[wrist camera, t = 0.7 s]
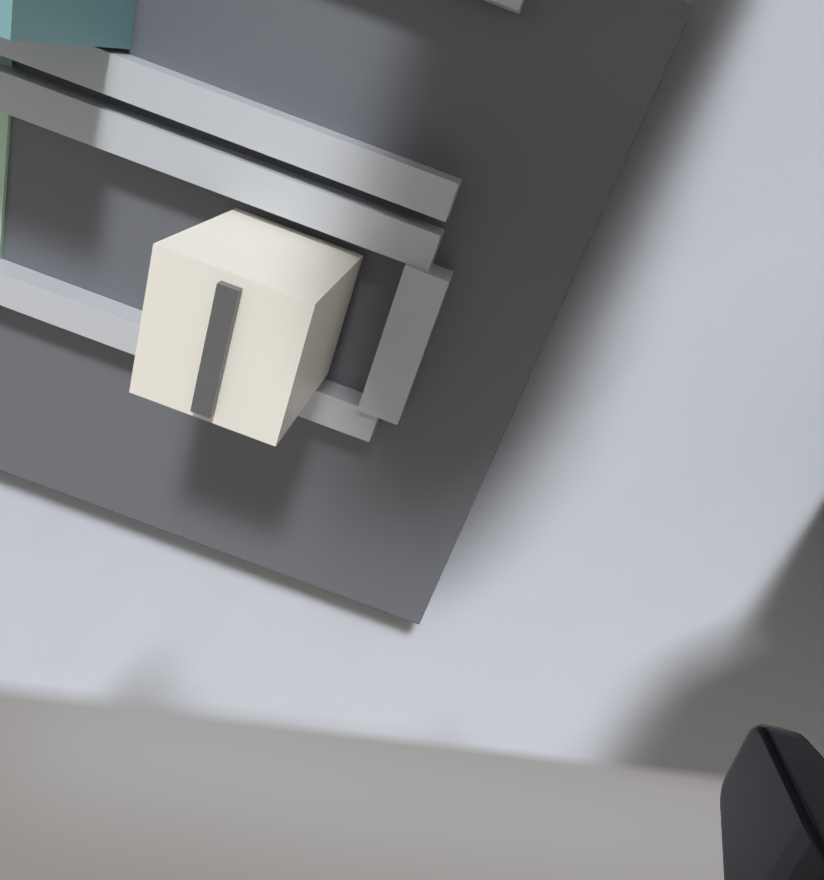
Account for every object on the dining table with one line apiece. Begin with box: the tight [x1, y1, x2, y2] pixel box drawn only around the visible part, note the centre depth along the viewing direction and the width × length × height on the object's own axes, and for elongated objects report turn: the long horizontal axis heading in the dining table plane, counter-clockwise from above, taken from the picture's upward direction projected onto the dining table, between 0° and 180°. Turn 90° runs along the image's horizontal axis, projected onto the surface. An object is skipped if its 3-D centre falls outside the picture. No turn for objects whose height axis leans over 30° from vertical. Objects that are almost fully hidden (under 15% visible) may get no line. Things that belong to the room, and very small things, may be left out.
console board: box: [0, 0, 693, 624], centre depth 16 cm, size 20×16×5 cm
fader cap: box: [129, 208, 363, 447], centre depth 15 cm, size 3×3×4 cm
